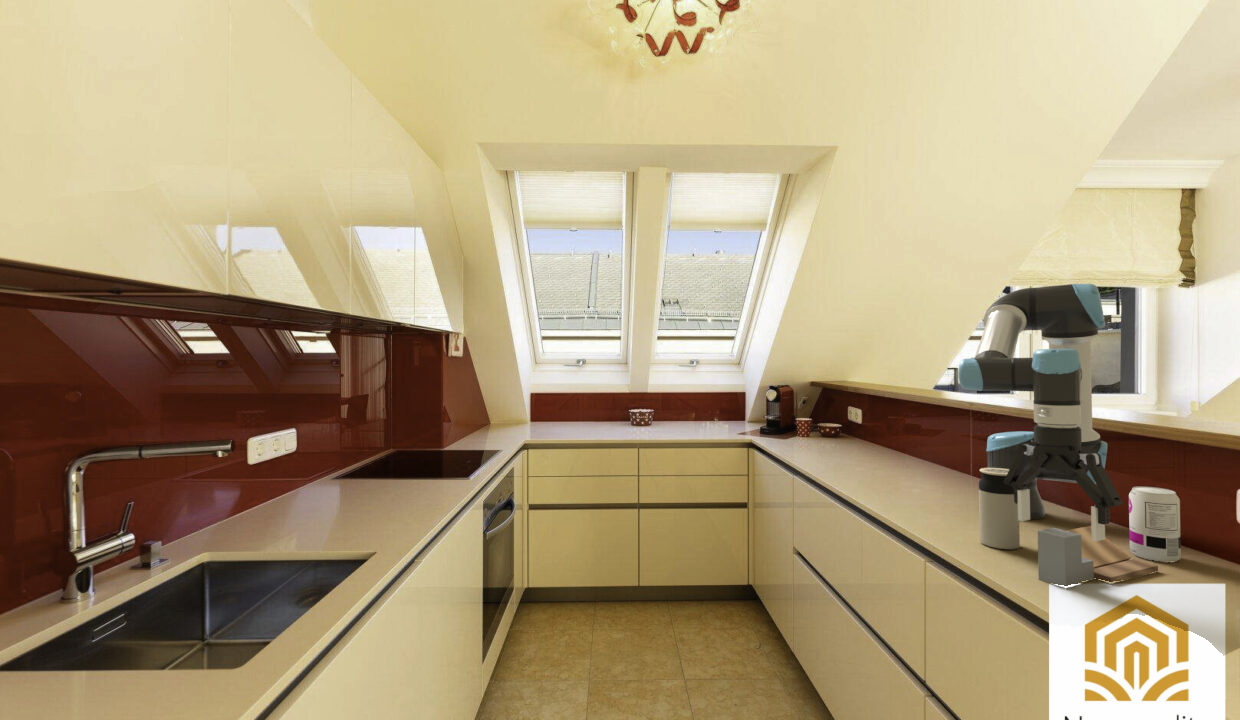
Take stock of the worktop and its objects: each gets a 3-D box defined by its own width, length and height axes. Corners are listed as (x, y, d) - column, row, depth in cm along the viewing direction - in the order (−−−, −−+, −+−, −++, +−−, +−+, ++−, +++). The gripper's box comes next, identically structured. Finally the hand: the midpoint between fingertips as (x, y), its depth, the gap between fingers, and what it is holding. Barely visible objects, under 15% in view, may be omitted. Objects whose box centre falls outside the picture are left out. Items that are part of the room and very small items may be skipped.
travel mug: (1026, 551, 128) (1025, 474, 128) (988, 549, 129) (987, 473, 129) (1009, 540, 136) (1008, 467, 136) (974, 538, 137) (972, 467, 137)
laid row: (1131, 564, 119) (1131, 557, 119) (1158, 571, 114) (1157, 565, 114) (1084, 576, 113) (1084, 569, 113) (1110, 584, 109) (1110, 577, 109)
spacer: (1069, 572, 115) (1068, 524, 115) (1096, 581, 111) (1095, 531, 111) (1038, 579, 112) (1037, 530, 112) (1065, 588, 107) (1064, 537, 107)
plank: (1087, 529, 126) (1090, 525, 126) (1128, 562, 119) (1132, 558, 118) (1041, 538, 121) (1044, 534, 120) (1082, 574, 113) (1085, 570, 113)
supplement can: (1122, 554, 125) (1121, 488, 125) (1141, 548, 128) (1140, 484, 128) (1169, 566, 117) (1167, 496, 117) (1188, 559, 121) (1187, 491, 121)
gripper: (983, 419, 121) (986, 515, 121) (1120, 434, 98) (1122, 552, 98) (1007, 417, 124) (1009, 510, 124) (1145, 431, 100) (1147, 546, 100)
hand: (1059, 529), depth 111 cm, fingers open, 13 cm apart
